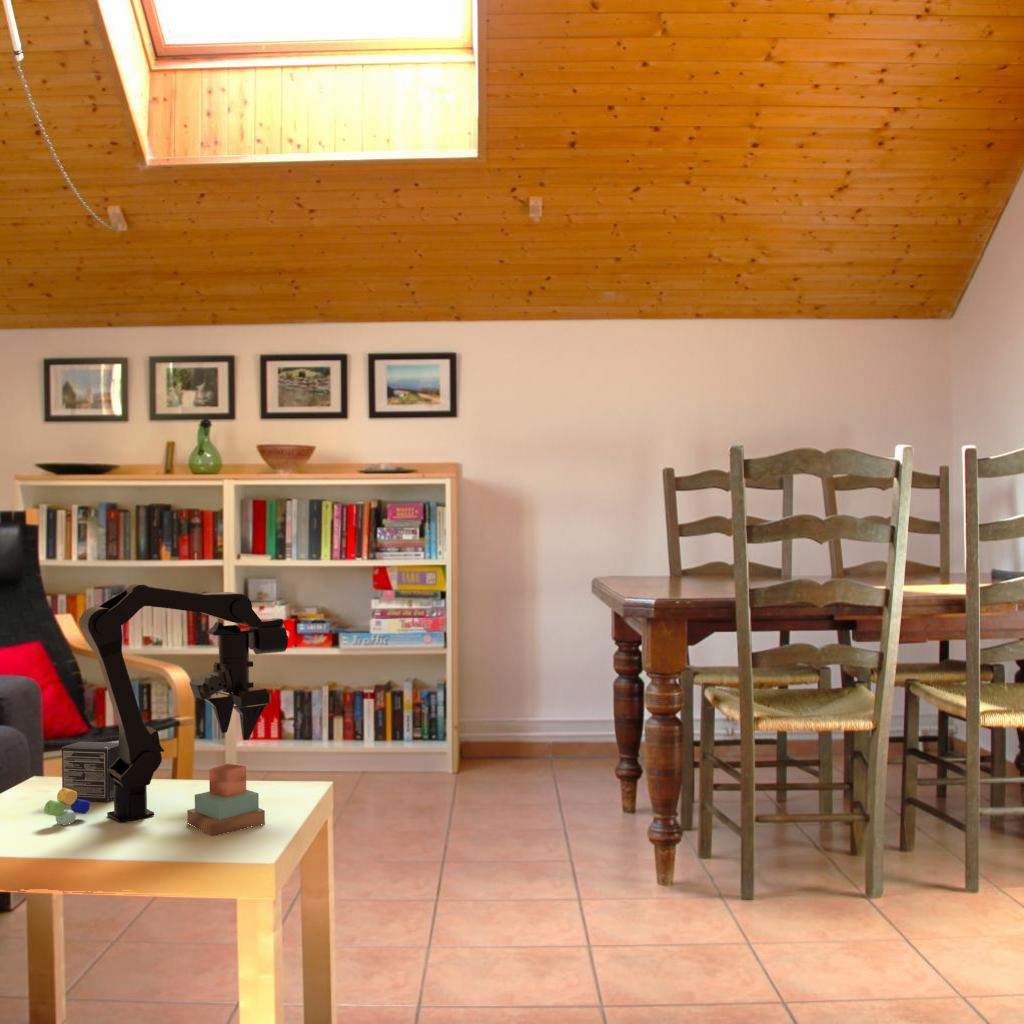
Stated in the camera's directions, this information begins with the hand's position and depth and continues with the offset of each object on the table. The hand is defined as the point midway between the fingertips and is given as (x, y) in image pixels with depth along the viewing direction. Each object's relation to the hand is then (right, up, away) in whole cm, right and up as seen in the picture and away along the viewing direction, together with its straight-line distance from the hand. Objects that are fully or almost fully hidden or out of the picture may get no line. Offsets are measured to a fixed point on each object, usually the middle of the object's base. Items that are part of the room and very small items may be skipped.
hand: (234, 736), depth 205 cm
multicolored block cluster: (-26, -13, -16) cm, 33 cm away
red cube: (+3, -7, -17) cm, 19 cm away
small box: (-28, -13, +1) cm, 31 cm away
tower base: (+3, -13, -18) cm, 22 cm away
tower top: (+3, -10, -18) cm, 21 cm away
